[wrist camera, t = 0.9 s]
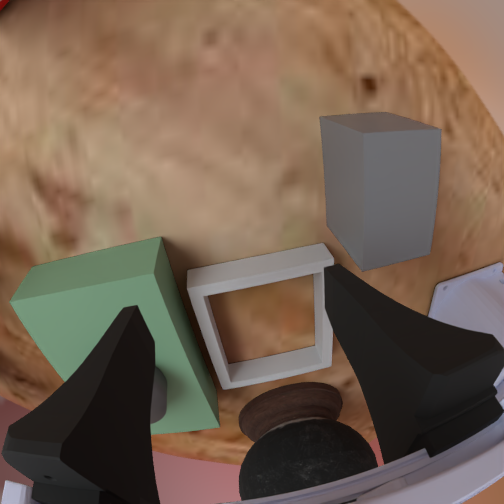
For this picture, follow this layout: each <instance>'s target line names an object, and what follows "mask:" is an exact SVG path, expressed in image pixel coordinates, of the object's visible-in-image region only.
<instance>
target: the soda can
mask: <svg viewBox="0 0 504 504" xmlns="http://www.w3.org/2000/svg"><path fill="white" fill-rule="evenodd" d="M9 1H10V0H0V11H1V10H2V8H3V7H4V6H5V5H6V4H7V3H8V2H9Z"/></svg>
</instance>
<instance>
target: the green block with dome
mask: <svg viewBox="0 0 504 504" xmlns="http://www.w3.org/2000/svg"><path fill="white" fill-rule="evenodd" d="M331 265H334V258H333V256H332V255H331V253H330V252H329V250H328V249H327V247H326V246H325V244H324V243H320V244H315V245H310V246H305V247H300V248H295V249H290V250H285V251H280V252H275V253H270V254H265V255H260V256H255V257H250V258H245V259H240V260H235V261H230V262H225V263H220V264H215V265H210V266H205V267H200V268H195V269H190V270H187V291H188V294H189V297H190V300H191V303H192V306H193V309H194V312H195V315H196V318H197V320H198V323H199V326H200V329H201V332H202V335H203V338H204V340H205V343H206V346H207V349H208V352H209V354H210V357H211V360H212V363H213V365H214V368H215V371H216V373H217V376H218V379H219V381H220V384H221V386H222V389H223V390H226V389H232V388H237V387H243V386H248V385H253V384H258V383H263V382H268V381H273V380H277V379H282V378H286V377H291V376H295V375H299V374H303V373H307V372H311V371H315V370H319V369H323V368H327V367H330V366H331V363H332V342H333V329H332V326H331V324H330V321H329V318H328V316H327V313H326V310H325V295H324V267H327V266H331ZM310 274H313V279H314V308H315V346H311V347H307V348H303V349H299V350H294V351H290V352H286V353H281V354H277V355H272V356H267V357H262V358H258V359H253V360H248V361H242V362H237V363H232V364H228V361H227V358H226V355H225V352H224V349H223V346H222V342H221V339H220V336H219V333H218V329H217V326H216V323H215V319H214V316H213V313H212V309H211V306H210V303H209V299H208V295H213V294H218V293H223V292H228V291H233V290H238V289H243V288H248V287H253V286H258V285H263V284H268V283H273V282H277V281H282V280H287V279H291V278H296V277H301V276H305V275H310ZM10 304H11V306H12V307H13V309H14V311H15V312H16V314H17V315H18V317H19V319H20V320H21V322H22V323H23V325H24V326H25V328H26V330H27V331H28V333H29V334H30V336H31V337H32V338H33V340H34V341H35V343H36V344H37V346H38V347H39V349H40V350H41V351H42V353H43V354H44V356H45V357H46V358H47V360H48V361H49V362H50V364H51V365H52V366H53V368H54V369H55V370H56V371H57V373H58V374H59V375H60V377H61V378H62V379H63V380H64V382H66V381H67V380H68V378H69V377H70V376H71V375H72V374H73V373H74V372H75V371H76V370H77V369H78V367H79V366H80V365H81V364H82V363H83V361H84V360H85V359H86V357H87V356H88V355H89V354H90V352H91V351H92V350H93V348H94V347H95V346H96V344H97V343H98V342H99V340H100V339H101V337H102V336H103V335H104V333H105V332H106V330H107V329H108V328H109V326H110V325H111V323H112V322H113V321H114V319H115V318H116V316H117V315H118V314H119V312H120V311H121V310H122V309H123V307H128V306H134V305H138V307H139V309H140V312H141V314H142V316H143V318H144V320H145V322H146V324H147V326H148V329H149V331H150V333H151V335H152V337H153V339H154V341H155V374H154V384H153V393H152V403H151V418H150V425H151V435H152V434H165V433H177V432H187V431H196V430H204V429H211V428H218V427H220V421H219V411H218V401H217V391H216V388H215V386H214V383H213V381H212V378H211V376H210V373H209V371H208V368H207V366H206V363H205V361H204V358H203V356H202V353H201V351H200V348H199V345H198V343H197V340H196V337H195V335H194V332H193V329H192V327H191V324H190V321H189V318H188V316H187V313H186V310H185V307H184V304H183V302H182V299H181V296H180V293H179V290H178V287H177V284H176V281H175V278H174V275H173V272H172V269H171V266H170V263H169V260H168V257H167V254H166V251H165V248H164V244H163V241H162V238H161V237H157V238H152V239H148V240H143V241H139V242H134V243H130V244H125V245H121V246H117V247H112V248H108V249H103V250H99V251H95V252H91V253H86V254H82V255H78V256H74V257H70V258H66V259H61V260H57V261H53V262H49V263H45V264H41V265H37V266H33V267H32V268H31V269H30V271H29V272H28V274H27V275H26V277H25V278H24V280H23V281H22V283H21V284H20V286H19V287H18V289H17V290H16V292H15V294H14V295H13V297H12V298H11V300H10Z"/></svg>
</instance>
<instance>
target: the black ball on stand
mask: <svg viewBox="0 0 504 504" xmlns="http://www.w3.org/2000/svg"><path fill="white" fill-rule="evenodd" d="M342 404H343V402H342V399H341V396H340V393H339V392H338V391H337V389H336V388H334V387H332V386H331V385H328V384H324V383H317V382H303V383H296V384H290V385H286V386H282V387H279V388H276V389H273V390H270V391H268V392H265V393H263V394H261V395H259V396H258V397H256V398H254V399H253V400H251V401H250V402H249V403H248V404H247V405H245V407H244V408H243V409H242V410H241V412H240V415H239V426H240V429H241V431H242V432H243V433H244V434H245V435H246V436H248V437H249V438H250V439H251V440H252V441H254V442H255V443H254V445H253V446H252V447H251V448H250V450H249V451H248V453H247V455H246V457H245V459H244V461H243V463H242V465H241V469H240V475H239V493H240V497H241V500H242V501H244V500H251V499H258V498H264V497H269V496H275V495H280V494H285V493H290V492H295V491H299V490H303V489H308V488H312V487H316V486H320V485H323V484H327V483H331V482H334V481H338V480H341V479H344V478H347V477H351V476H354V475H357V474H360V473H363V472H366V471H369V470H372V469H374V468H377V467H378V464H377V461H376V457H375V454H374V452H373V450H372V449H371V447H370V445H369V443H368V442H367V441H366V440H365V439H364V438H363V437H362V436H361V435H360V434H359V433H358V432H357V431H355V430H354V429H352V428H351V427H350V426H348V425H345V424H343V423H340V422H338V421H336V420H337V419H338V417H339V414H340V411H341V409H342ZM356 501H357V498H356V499H353V500H350V501H347V502H343V503H340V504H348V503H352V502H356Z"/></svg>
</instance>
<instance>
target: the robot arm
mask: <svg viewBox="0 0 504 504" xmlns="http://www.w3.org/2000/svg"><path fill="white" fill-rule="evenodd" d="M502 269H503V264H502V263H501V262H499V263H496V264H493V265H491V266H488V267H485V268H482V269H480V270H477V271H474V272H471V273H468V274H465V275H462V276H459V277H456V278H453V279H450V280H447V281H444V282H441V283H439V284H437V286H436V287H435V291H434V295H433V299H432V303H431V307H430V311H429V315H428V317H427V316H425V315H423V314H420V313H418V312H416V311H414V310H412V309H410V308H408V307H405V306H404V305H402V304H400V303H398V302H396V301H394V300H393V299H391V298H389V297H387V296H386V295H384V294H382V293H381V292H379V291H378V290H376V289H375V288H373V287H372V286H370V285H369V284H367V283H366V282H364V281H363V280H361V279H360V278H358V277H357V276H356V275H354V274H353V273H351V272H350V271H348V270H347V269H346V268H344V267H343V266H341V265H340V264H336V265H331V266H327V267H324V295H325V310H326V313H327V316H328V318H329V321H330V324H331V326H332V329H333V331H334V333H335V335H336V337H337V339H338V341H339V343H340V345H341V347H342V349H343V350H344V352H345V354H346V356H347V358H348V360H349V362H350V364H351V366H352V368H353V370H354V372H355V374H356V376H357V378H358V381H359V383H360V386H361V389H362V391H363V394H364V397H365V400H366V403H367V406H368V409H369V412H370V415H371V418H372V421H373V424H374V428H375V431H376V434H377V438H378V441H379V445H380V449H381V453H382V457H383V461H384V465H382V466H380V467H377V468H374V469H372V470H369V471H366V472H363V473H360V474H357V475H354V476H351V477H347V478H344V479H341V480H338V481H334V482H331V483H327V484H323V485H320V486H316V487H312V488H308V489H303V490H299V491H295V492H290V493H285V494H280V495H275V496H269V497H264V498H258V499H251V500H244V501H236V502H229V503H219V504H340V503H343V502H347V501H350V500H353V499H356V498H357V501H356V502H352V503H348V504H462V503H463V502H465V501H467V500H468V499H470V498H472V497H473V496H475V495H476V494H478V493H480V492H481V491H483V490H484V489H486V488H487V487H489V486H490V485H491V484H493V483H495V482H496V481H497V480H499V479H500V478H501V477H503V476H504V274H503V273H502ZM154 374H155V341H154V339H153V337H152V335H151V333H150V331H149V329H148V326H147V324H146V322H145V320H144V318H143V316H142V314H141V312H140V309H139V307H138V305H134V306H128V307H123V309H122V310H121V311H120V312H119V314H118V315H117V316H116V318H115V319H114V321H113V322H112V323H111V325H110V326H109V328H108V329H107V330H106V332H105V333H104V335H103V336H102V337H101V339H100V340H99V342H98V343H97V344H96V346H95V347H94V348H93V350H92V351H91V352H90V354H89V355H88V356H87V357H86V359H85V360H84V361H83V363H82V364H81V365H80V366H79V367H78V369H77V370H76V371H75V372H74V373H73V374H72V375H71V376H70V377H69V378H68V380H67V381H66V382H65V383H64V384H63V385H62V386H60V387H59V388H58V389H57V390H56V391H55V392H54V393H53V394H52V395H51V396H50V397H49V398H48V399H46V400H45V401H44V402H43V403H42V404H40V405H39V406H38V407H36V408H35V409H34V410H33V411H31V412H30V413H28V414H27V415H26V416H24V417H23V418H21V419H20V420H18V421H16V422H15V423H13V424H12V425H10V426H9V428H8V432H7V435H6V438H5V442H4V446H3V450H2V456H3V457H4V459H5V461H6V462H7V463H8V464H10V465H11V466H12V467H13V468H15V469H16V470H18V471H19V472H21V473H22V474H23V475H25V476H26V477H28V478H29V479H31V480H32V481H34V484H33V488H32V487H29V486H27V485H24V484H20V483H16V482H12V481H8V480H6V481H5V486H4V491H3V497H2V503H1V504H160V500H159V496H158V490H157V485H156V480H155V472H154V465H153V456H152V444H151V425H150V418H151V403H152V393H153V384H154Z"/></svg>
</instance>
